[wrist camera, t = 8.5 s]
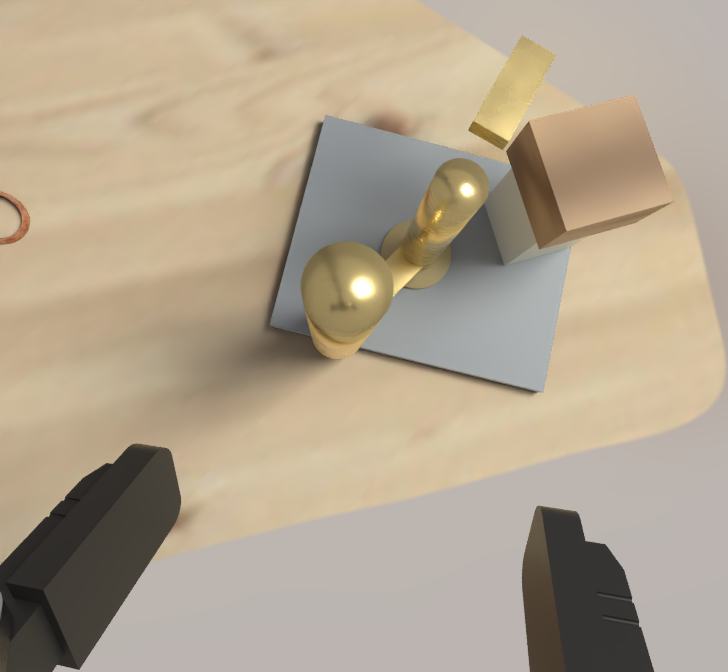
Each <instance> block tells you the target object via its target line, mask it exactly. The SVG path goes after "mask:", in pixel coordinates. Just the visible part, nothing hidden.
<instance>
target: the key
mask: <svg viewBox="0 0 728 672" xmlns="http://www.w3.org/2000/svg"><path fill="white" fill-rule="evenodd" d="M0 196H1V197H5V198H7V199H9V200H11V201H12V202H13V203H14V204H15V205H16V206H17V208H18V209H19V211H20V213H21V215H22V224H21V227H20V229H19V230H18V231H17V232H16V233H15V234H14V235H12V236H10V237H7V238H0V244H10V243H14V242H16V241H18V240H20V239H21V238H22V237H24V235H25V234H26V233H27V231H28V229H29V226H30V217H29V214H28V212H27V210H26V208H25V207H24V206H23V205H22V203H21V202H19V201H18V200H17V199H16V198H14V197H12V196H11V195H9V194H6V193H3V192H0Z"/></svg>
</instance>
